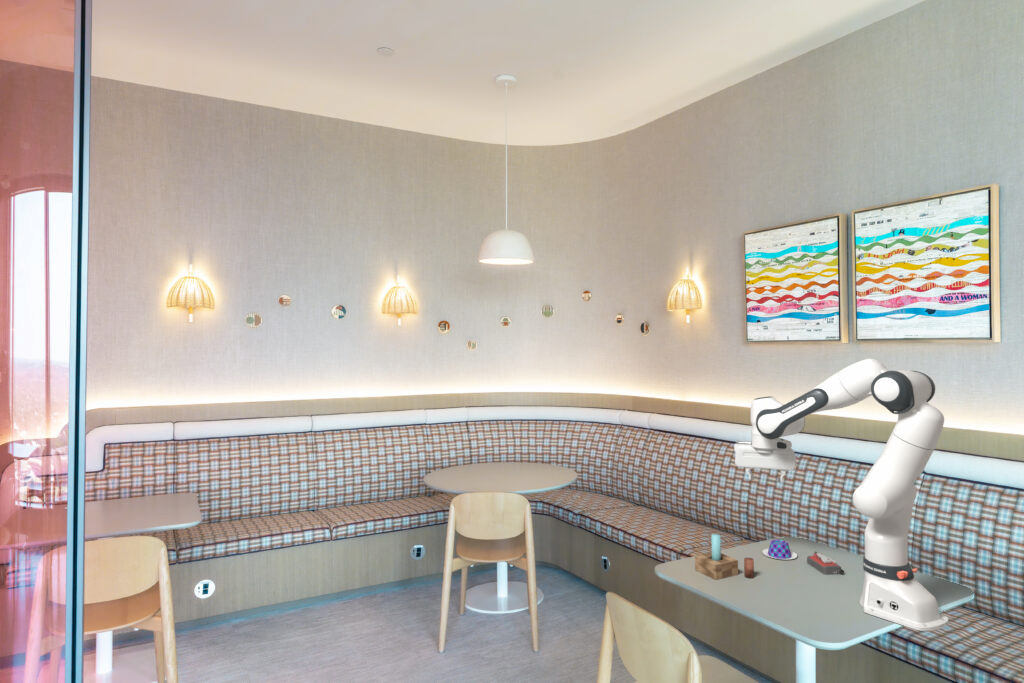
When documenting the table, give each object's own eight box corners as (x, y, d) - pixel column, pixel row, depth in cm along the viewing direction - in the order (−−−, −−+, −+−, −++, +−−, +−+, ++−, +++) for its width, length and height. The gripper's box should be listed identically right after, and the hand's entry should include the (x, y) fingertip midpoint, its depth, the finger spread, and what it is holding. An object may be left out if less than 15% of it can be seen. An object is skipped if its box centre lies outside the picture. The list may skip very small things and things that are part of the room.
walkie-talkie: (850, 576, 208) (817, 555, 228) (850, 563, 208) (817, 544, 228) (825, 577, 208) (795, 556, 228) (825, 564, 208) (794, 545, 228)
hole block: (738, 574, 210) (737, 560, 210) (715, 580, 206) (715, 565, 206) (716, 565, 219) (716, 551, 219) (695, 570, 215) (695, 555, 215)
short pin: (755, 577, 208) (755, 559, 208) (749, 579, 206) (749, 561, 206) (748, 574, 210) (748, 557, 210) (742, 575, 209) (742, 558, 209)
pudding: (786, 564, 220) (786, 549, 220) (755, 555, 230) (755, 541, 230) (803, 556, 227) (803, 542, 227) (772, 547, 237) (772, 534, 237)
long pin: (722, 573, 212) (722, 535, 212) (716, 574, 211) (715, 536, 211) (716, 570, 215) (716, 533, 215) (710, 571, 213) (709, 534, 213)
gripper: (732, 441, 220) (733, 480, 220) (794, 444, 210) (796, 485, 210) (735, 439, 225) (736, 477, 225) (796, 442, 215) (797, 481, 215)
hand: (765, 481), depth 217 cm, fingers open, 8 cm apart
